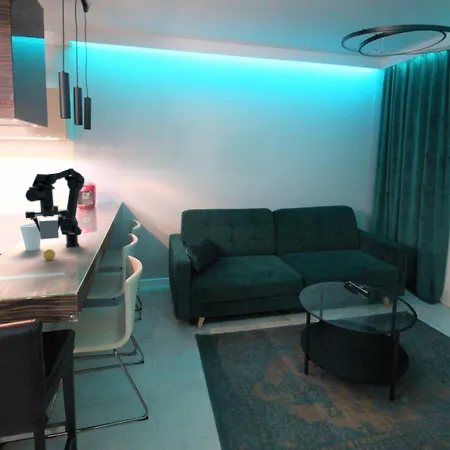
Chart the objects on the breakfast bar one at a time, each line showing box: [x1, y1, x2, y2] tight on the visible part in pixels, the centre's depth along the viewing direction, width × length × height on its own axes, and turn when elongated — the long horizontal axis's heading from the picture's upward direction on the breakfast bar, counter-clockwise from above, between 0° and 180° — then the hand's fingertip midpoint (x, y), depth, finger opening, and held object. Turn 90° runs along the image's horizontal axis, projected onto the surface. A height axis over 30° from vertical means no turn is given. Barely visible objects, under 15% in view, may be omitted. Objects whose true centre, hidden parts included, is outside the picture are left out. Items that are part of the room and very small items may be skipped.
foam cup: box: [19, 222, 42, 252], centre depth 177 cm, size 10×9×13 cm
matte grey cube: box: [38, 217, 60, 240], centre depth 167 cm, size 8×8×9 cm
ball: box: [43, 248, 56, 261], centre depth 161 cm, size 5×5×5 cm
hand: (48, 230), depth 168 cm, fingers closed on matte grey cube, 8 cm apart
